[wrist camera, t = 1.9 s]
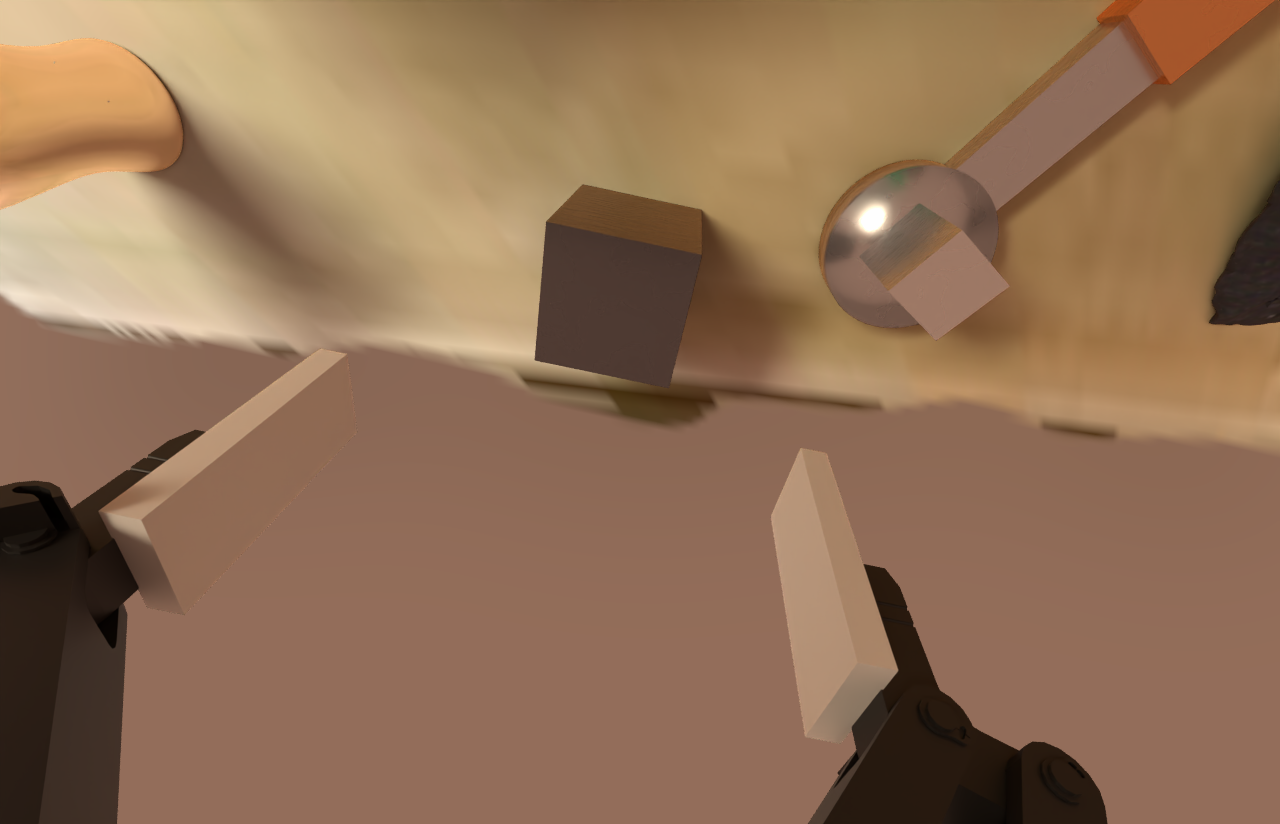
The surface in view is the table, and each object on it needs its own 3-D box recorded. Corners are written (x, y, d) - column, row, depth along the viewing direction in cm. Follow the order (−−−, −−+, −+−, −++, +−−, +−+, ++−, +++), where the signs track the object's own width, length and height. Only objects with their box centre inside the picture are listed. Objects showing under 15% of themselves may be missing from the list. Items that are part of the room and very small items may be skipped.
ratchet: (879, 340, 31) (921, 403, 26) (787, 248, 29) (809, 294, 23) (1421, -86, 20) (1714, -146, 14) (1343, -290, 18) (1654, -461, 12)
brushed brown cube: (569, 297, 32) (534, 360, 25) (582, 184, 28) (546, 221, 22) (675, 320, 32) (668, 388, 25) (701, 209, 28) (701, 254, 22)
